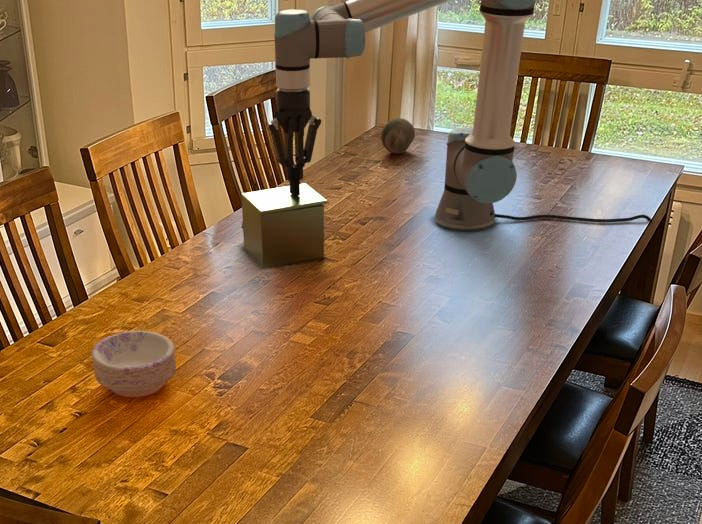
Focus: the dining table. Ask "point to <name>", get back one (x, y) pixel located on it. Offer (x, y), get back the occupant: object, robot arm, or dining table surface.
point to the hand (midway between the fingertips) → (294, 193)
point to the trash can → (283, 235)
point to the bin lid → (283, 199)
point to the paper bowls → (134, 362)
